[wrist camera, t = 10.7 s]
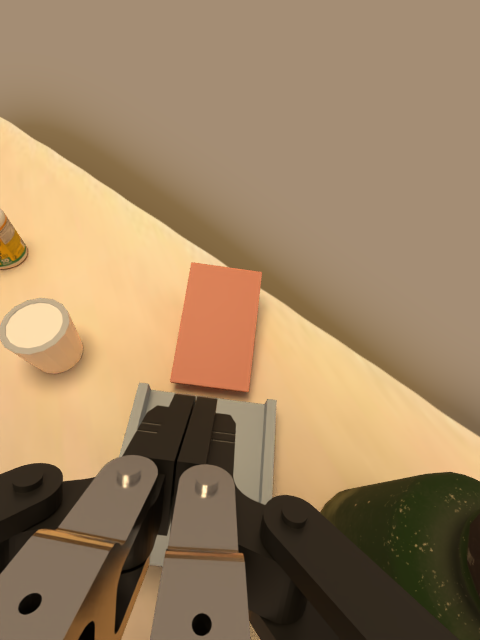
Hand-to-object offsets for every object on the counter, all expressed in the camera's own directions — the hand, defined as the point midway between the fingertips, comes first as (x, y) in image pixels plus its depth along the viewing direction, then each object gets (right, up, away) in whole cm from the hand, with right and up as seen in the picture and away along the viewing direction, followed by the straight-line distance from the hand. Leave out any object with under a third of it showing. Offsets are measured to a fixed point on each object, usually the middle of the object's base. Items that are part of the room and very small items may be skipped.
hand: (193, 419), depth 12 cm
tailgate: (-2, -4, +27) cm, 27 cm away
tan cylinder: (-21, -1, +29) cm, 36 cm away
